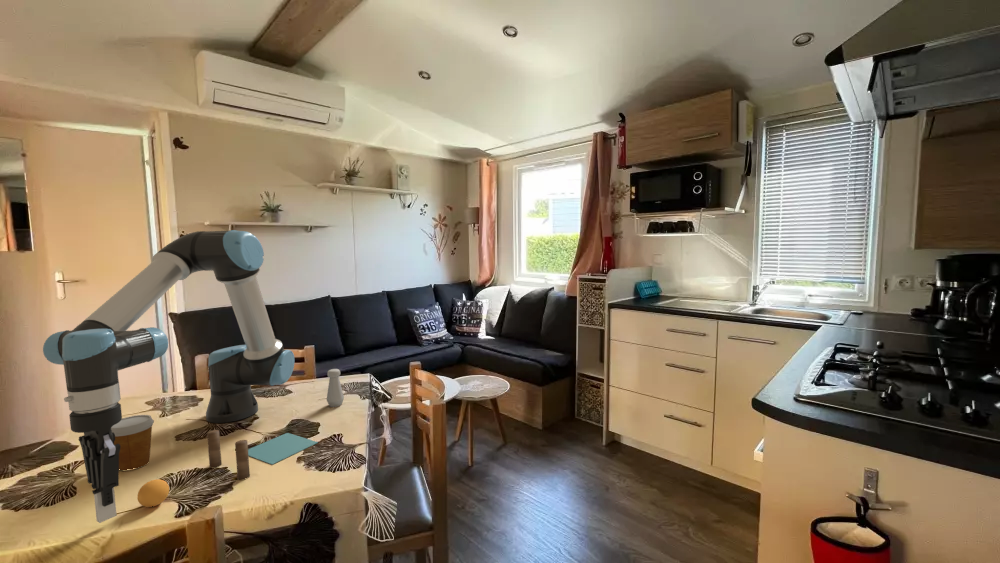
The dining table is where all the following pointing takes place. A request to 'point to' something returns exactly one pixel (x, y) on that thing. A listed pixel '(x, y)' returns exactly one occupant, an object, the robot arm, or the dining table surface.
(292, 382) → the dining table surface
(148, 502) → the ball
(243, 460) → the outer post
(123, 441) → the disposable coffee cup
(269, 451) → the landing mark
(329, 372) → the salt shaker
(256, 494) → the dining table surface
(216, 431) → the inner post
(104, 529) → the dining table surface
